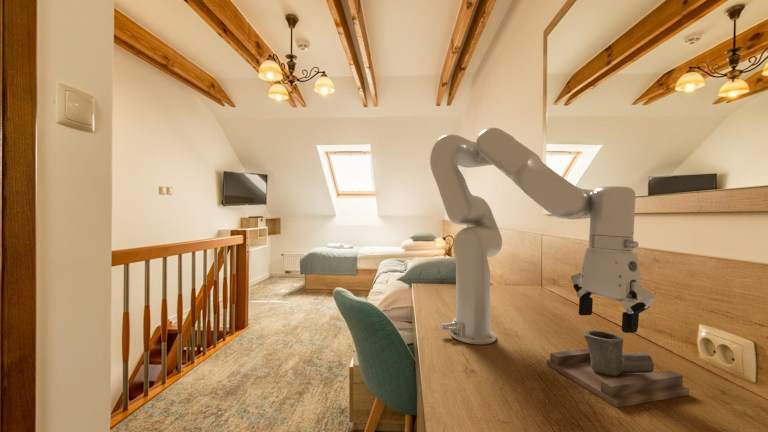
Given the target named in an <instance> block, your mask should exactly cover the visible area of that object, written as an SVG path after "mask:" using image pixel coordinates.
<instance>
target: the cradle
mask: <svg viewBox="0 0 768 432" xmlns="http://www.w3.org/2000/svg"><path fill="white" fill-rule="evenodd" d="M549 353H550V355H549V356H550V357H549V359H546V366H548V367H550V368H551V369H553V370H554V371H557V372H558V373H560V374H561V375H563V376H565V377H566V378H568V379H569V380H571V381H573V382H574V383H576V384H577V385H579V386H580V387H582V388H584V389H585V390H587V391H589V392H590V393H592V394H594V395H595V396H597V397H599V398H601V399H602V400H603V401H605V402H607V403H609V404H610V405H611V406H613V407H616V408H622V407H629V406H634V405H639V404H644V403H645V404H647V403H653V402H657V401H662V400H668V399H674V398H681V397H685V396H689V395H690V388H689V387H686V386H684V385H683V384H684V383H683V380H684V379H683V374H680V373H678V372H674V371H673V370H666V371H665V370H664V371H658V372H653V371H652V372H647V373H620V374H619V375H617V376H609V375H603V374H600V373H597V372H595V371H594V370H593V369H592V368H591V359H590V353H589V348H581V349H573V350H564V351H563V350H562V351H554V352H549Z"/></svg>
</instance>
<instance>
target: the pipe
mask: <svg viewBox="0 0 768 432" xmlns="http://www.w3.org/2000/svg"><path fill="white" fill-rule="evenodd" d="M583 337H584V339H585V341H586V345H587V347H588V348H587V349H589V353H590V359H591V368H592V369H593V370H594V371H595V372H597V373H600V374H603V375H609V376H617V375H619V374H620V373H647V372H653V371H654V367H655V364H654V360H653V358H652V357H651V355H649V354H647V353H643V352H640V353H638V352H637V353H636V352H635V353H623V345H624V337H622V336H620V335H618V334H615V333H610V332H608V331H602V330H586V331H584V332H583Z"/></svg>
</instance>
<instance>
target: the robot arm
mask: <svg viewBox="0 0 768 432" xmlns="http://www.w3.org/2000/svg"><path fill="white" fill-rule="evenodd" d="M429 161H430V162H429V165H430V169H431V172H432V176H433V178H434V181H435V183H436V185H437V189H438V191H439V195H440V198H441V200H442V203H443V206H444V209H445V212H446V215H447V217H448V219H449V221H450V222H452V224H455V225H460V226H462V225H463V226H466V227H465V228H462V229H460V230H458V232H457V233H456V234H455V237H454V238H453V245H452V247H453V248H452V249H453V255H454V261H455V262H454V263H455V283H456V284H455V317H453V318H452V320H451V321H449V322H441V323H440V324H439V328H440V331H448V332H449V334H450V336H451V337H452V338H453V339H455V340H457V341H460V342H462V343H467V344H471V345H489V344H492V343H493V342H495V341H496V340H497V339H496V338H497V335H496V333H495V332H494V331H493V330H492V329H491V271H490V266H489V260H488V258H491V257H494V256H496V255H497V254H499V252H500V251H501V249H502V246H503V238H502V234H501V232H500V229H499V226H498V224H497V221H496V219H495V216H494V215H493V212H492V209H491V206H490V205H489V204H488V202H487V201H486V200H485V199H484V198H483V197H481V196H478V195H473V194H472V193H471V191H470V188H469V187H468V184H467V180H466V178H465V177H464V175H463V173H462V172H461V170H460V169H459V166H460V167H462V168H467V169H468V168H479V167H486V166H487V167H488V166H494V167H495V168H497V170H499V171H500V172H501V173H503V174H504V175H505V176H507V177H508V178H509V179H510V180H511V181H512V182H513V183H514V184H515V185H516V186H517V187H518V188H519V189H520V190H521V191H522V192H523V193H525V195H526V196H527V197H529V198H530V199H532V200H533V201H534V202H535V203H536V204H537V205H539V206H540V207H542V208H543V209H544V210H545V211H547V212H548V213H549V215H550V214H551V215H552V216H554V217H555V218H559V219H566V220H581V219H583V220H585V219H589V231H588V232H589V233H588V247H586V249H585V253H584V256H583V261H582V265H581V266H582V267H581V272H579V273H575V274H572V275H571V276H570V279H571V282H572V284H573V289H574V290H575V292H576V296H577V297H578V298H579V300H578V301H579V302H578V315H579V316H592V315H593V304H594V299H593V297H591V296H593V295H597V296H600V297H603V298H607V299H610V300H615V301H618V302H619V303H620V304H621V305H622V307H623V308H624V310H625V311H623V312H622V316H621V317H622V320H621V331H622V332H623V333H625V334H631V333H632V334H633V333H637V332H638V329H639V320H640V319H639V318H640V314H643V312H645V311H646V310H648V309H650V307H651V305H652V304H653V302H654V301H655V300H656V295H654V294H653V293H652V292H650V291H649V290H647V289H646V288H645V287H644V286H642V278H641V277H642V276H641V268H640V267H641V266H640V265H641V264H640V260H639V256H638V254H637V253H636V252H633V250H634V248H635V249H637V248H638V247H639V242H638V241H635V240H634V232H635V231H634V230H635V216H636V215H635V211H636V199H637V198H636V192H635V189H633V188H632V187H628V186H620V185H619V186H615V185H614V186H613V185H612V186H600V187H596V188H594V189H587V188H586V189H585V188H581V187H578V186H575V185H574V184H573V183H571V182H570V181H568V180H567V179H565V178H564V177H562V176H561V175H560V174H558V173H557V172H556V171H554V170H553V169H551V167H549V166H548V165H547V164H545V163H544V161H542V159H541V157H540V156H539V155H538V153H536V152H534V151H533V150H532V149H530V148H528V147H527V146H526V145H525V144H523V143H521V142H519V141H518V140H517V139H516V138H515V137H514V136H512V135H511V134H509V133H508V132H506V131H504V130H503V129H501V128H497V127H489V128H486V129H484V130H482V131H481V132H480V133H479V134H478V136H477V138H476V141H472V140H470V139H467V138H465V137H463V136H461V135H457V134H454V133H453V134H452V133H450V134H444V135H442V136H441V137H439V138H438V139H437V140H436V142H435V143H434V144H433V146H432V149H431V152H430V157H429ZM639 300H640V301H639Z"/></svg>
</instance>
